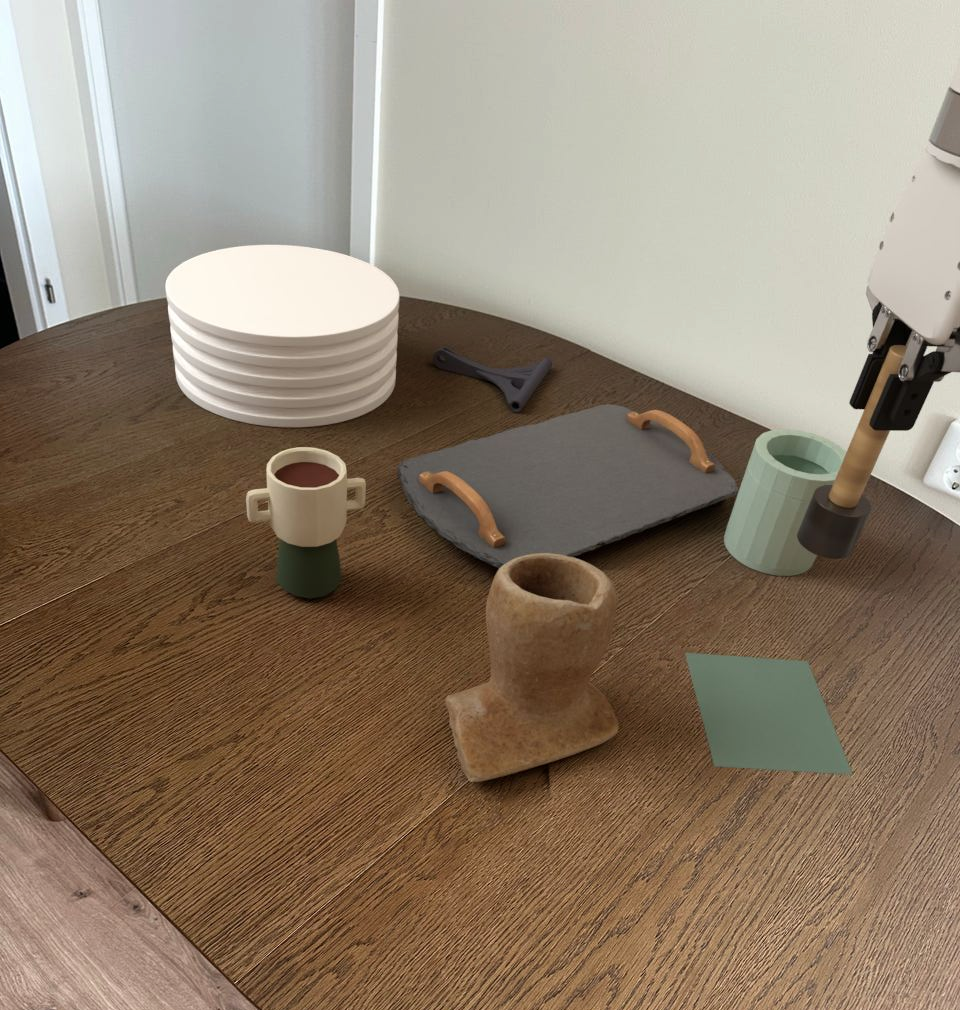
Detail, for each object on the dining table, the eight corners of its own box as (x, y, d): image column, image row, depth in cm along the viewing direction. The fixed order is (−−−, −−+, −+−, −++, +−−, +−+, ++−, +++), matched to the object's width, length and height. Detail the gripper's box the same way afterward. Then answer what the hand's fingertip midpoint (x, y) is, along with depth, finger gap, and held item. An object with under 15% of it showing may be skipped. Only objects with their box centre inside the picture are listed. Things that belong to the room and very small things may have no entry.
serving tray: (492, 606, 92) (500, 555, 88) (369, 489, 105) (370, 440, 101) (754, 504, 111) (770, 458, 107) (622, 415, 124) (632, 371, 120)
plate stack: (314, 312, 138) (313, 231, 130) (438, 391, 124) (445, 305, 116) (135, 355, 122) (122, 267, 115) (254, 451, 108) (248, 357, 100)
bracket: (452, 345, 134) (453, 326, 133) (551, 370, 132) (554, 351, 130) (414, 387, 124) (415, 367, 122) (520, 415, 121) (523, 395, 119)
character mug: (353, 553, 96) (355, 440, 87) (373, 596, 91) (377, 482, 82) (245, 568, 92) (236, 452, 83) (260, 614, 87) (252, 496, 79)
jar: (800, 525, 108) (837, 433, 100) (824, 579, 101) (867, 484, 93) (715, 519, 108) (746, 425, 100) (734, 572, 100) (768, 476, 92)
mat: (806, 665, 90) (808, 660, 90) (850, 779, 80) (853, 774, 79) (683, 657, 89) (685, 652, 89) (712, 770, 79) (714, 766, 78)
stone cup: (564, 659, 87) (593, 525, 77) (631, 750, 79) (674, 615, 69) (412, 697, 81) (423, 559, 71) (469, 800, 74) (490, 660, 64)
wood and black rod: (799, 520, 77) (874, 332, 66) (853, 535, 76) (939, 347, 65) (794, 549, 73) (872, 356, 63) (851, 565, 73) (940, 372, 62)
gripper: (1148, 182, 50) (988, 478, 62) (979, 105, 62) (872, 367, 74) (1027, 174, 49) (887, 479, 61) (877, 96, 60) (784, 365, 72)
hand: (880, 416), depth 67 cm, fingers closed on wood and black rod, 2 cm apart
